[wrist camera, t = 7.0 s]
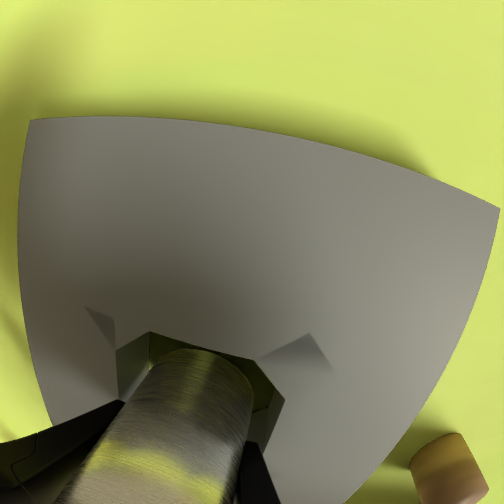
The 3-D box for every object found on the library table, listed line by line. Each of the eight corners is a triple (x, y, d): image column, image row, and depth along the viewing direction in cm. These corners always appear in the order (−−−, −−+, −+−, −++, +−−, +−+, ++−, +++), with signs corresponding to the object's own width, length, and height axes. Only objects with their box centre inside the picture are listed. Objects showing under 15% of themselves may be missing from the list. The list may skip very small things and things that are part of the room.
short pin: (441, 467, 12) (459, 516, 7) (398, 473, 12) (412, 530, 7) (473, 430, 11) (500, 480, 6) (430, 435, 11) (456, 496, 7)
